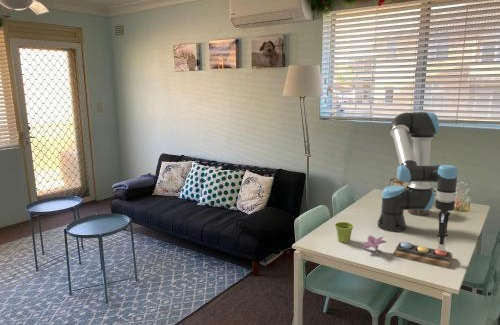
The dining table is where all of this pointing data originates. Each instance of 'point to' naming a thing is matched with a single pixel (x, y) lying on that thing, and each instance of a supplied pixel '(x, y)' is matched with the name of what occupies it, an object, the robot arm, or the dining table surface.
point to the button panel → (423, 256)
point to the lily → (373, 242)
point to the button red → (440, 252)
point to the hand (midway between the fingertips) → (441, 249)
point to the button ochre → (423, 249)
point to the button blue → (406, 245)
